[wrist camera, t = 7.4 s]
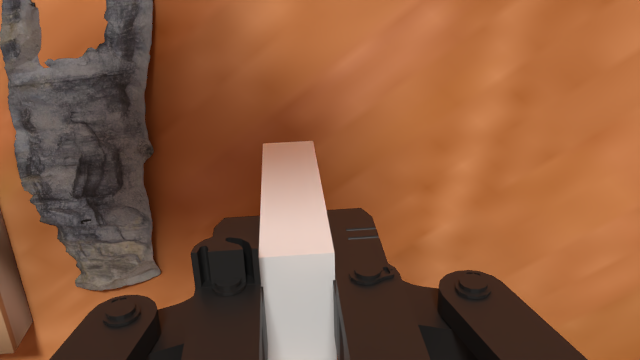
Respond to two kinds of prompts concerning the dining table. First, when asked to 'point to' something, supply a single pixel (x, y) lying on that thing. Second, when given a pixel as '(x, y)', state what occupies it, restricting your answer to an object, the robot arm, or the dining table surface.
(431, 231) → the dining table surface
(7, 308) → the floorboard
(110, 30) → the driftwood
